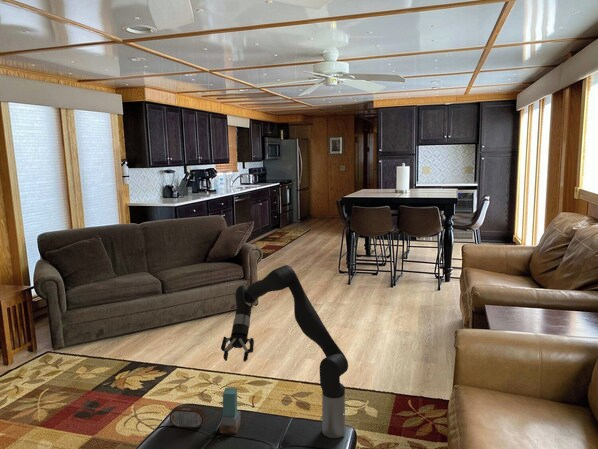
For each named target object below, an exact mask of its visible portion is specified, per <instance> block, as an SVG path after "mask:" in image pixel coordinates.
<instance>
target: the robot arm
mask: <svg viewBox="0 0 598 449" xmlns="http://www.w3.org/2000/svg"><path fill="white" fill-rule="evenodd" d="M287 288H289V291H290V293H291V295H292V297H293V304H294V306H293V308H294V312H293V313H294V319H295V321H296V323H297V326H298V327H299V328H300V330H301V331H302V333H303V334H304V335H305V337H307V338H308V339H310V340H311V341H313V342H314V343H315V344H316V345H317V346H318V347H319V348H320V349H321V351H322V352H323V354H324V356H325V357H324V358H323V359H322V360H320V363H319V385H320V389H321V390H322V391H321V396H322V398H321V399H322V401H321V402H322V403H321V404H322V405H321V406H322V408H321V409H322V411H321V412H322V418H321V419H322V422H321V424H322V427H321V428H322V432H321V433H322V434H323V435H324V437H326V436H327V437H326V438H329V439H339V438H342V437H343V438H344V437H345V435H346V434H345V433H346V431H345V430H346V407H345V406H346V404H345V403H346V402H345V400H346V398H345V396H346V388H345V385H344V384H343V383H341V379H340V378H341V376H343V375H344V374H345V373H346V372H347V371H348V369H349V361H348V359H347V357H346V356H345V354H344V353H343V351H342V350H341V349H340V347H339V345H338V344H337V343H336V342H335V340H334V339H333V337H332V336H331V335H330V332H329V330H328V329H327V327H326V326H325V325H324V322H323V321H322V320H321V317H320V315H319V314H318V312H317V311H316V309H315V308H314V306H313V305H312V303H311V301H310V299H309V297H308V296H307V293H306V292H305V290H304V288H303V285H302V284H301V281H300V280H299V277H298V275H297V274H296V271H295V270H294V269H293V267H292V266H290V265H288V264H284V265H282V266H279V267H278V268H275V269H272V270H271V271H270V272H269V273H268V274H267V275H266V276H264V278H262V279H259V280H257V281H255V282H252V283H251V284H249V286H247V285H239V286H238V287H237V288H236V289H235V293H234V294H235V296H234V297H235V306H236V309H235V314H234V315H235V316H234V319H233V322H232V330H231V333H230V337H226V336H224V337H223V338H222V343H221V346H220V349H221V351H222V352H223V359H224V361H225V362H227V361H228V358H229V352H230V351H231V350H233V349H242V348H243V350H244V353H243V362H244V363H246V362H247V361H248V360H249V359H248V358H249V354H250V353H254V345H255V340H254V337H250V338H248V337H249V336H248V335H249V329H250V322H251V315H252V307H251V306H250V305H252V304H255V302H256V301H257V300H258V298H260V297H262V296H265V295H266V294H268V293H271V292H278V291H283V290H284V289H287ZM249 304H250V305H249ZM228 342H229V343H228ZM246 344H249V348H248V347H247V346H246Z"/></svg>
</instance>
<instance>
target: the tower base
mask: <svg viewBox="0 0 598 449" xmlns="http://www.w3.org/2000/svg"><path fill="white" fill-rule="evenodd" d="M240 426H241V420H240V421H239V422H238V424H237V425H236V427H234V426H226V425H222V421H221V422H220V425H219V433H221V434H237V433H238V431H239V429H240Z"/></svg>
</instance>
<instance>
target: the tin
mask: <svg viewBox="0 0 598 449" xmlns="http://www.w3.org/2000/svg"><path fill="white" fill-rule="evenodd" d="M205 420H206V414H205V412H204V411H203V409H201V408H199V407H197V406H195V407H193V406H179V405H178V406H175V407H173V408H172V410H171V412H170V414H169V421H170V423H171V425H173V426H174V427H177V428H190V429H196V428H197V429H198V428H201V426H202V425H203V424H204V422H205Z"/></svg>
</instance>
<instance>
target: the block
mask: <svg viewBox="0 0 598 449" xmlns="http://www.w3.org/2000/svg"><path fill="white" fill-rule="evenodd" d="M237 411H238V388H237V387H224V390H223V393H222V416H226V417H235V415H236V412H237Z"/></svg>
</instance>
